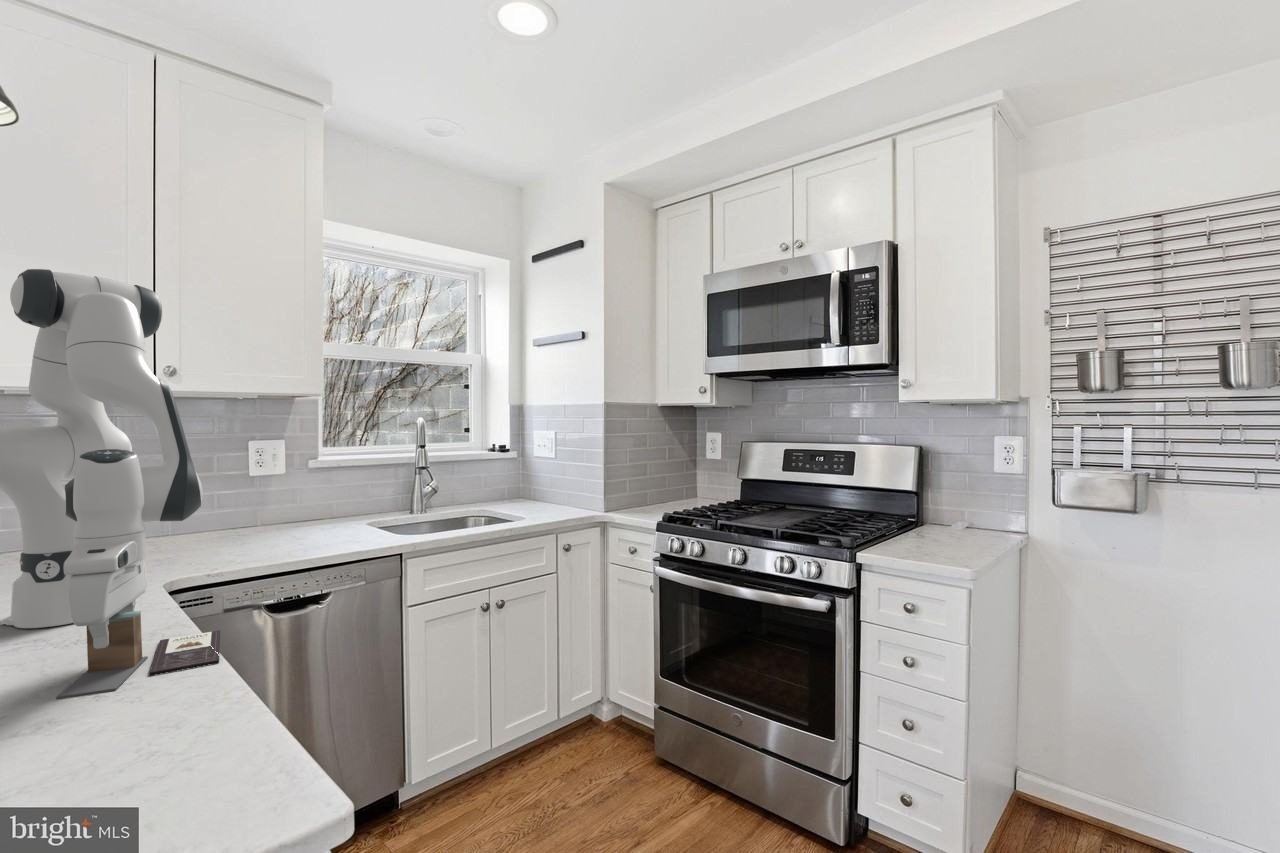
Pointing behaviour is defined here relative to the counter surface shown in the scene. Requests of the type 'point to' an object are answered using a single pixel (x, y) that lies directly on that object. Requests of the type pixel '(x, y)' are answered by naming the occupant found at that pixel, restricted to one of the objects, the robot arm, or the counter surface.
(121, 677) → the rubber mat
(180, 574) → the counter surface
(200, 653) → the chocolate bar
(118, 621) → the teal brown rectangular block
